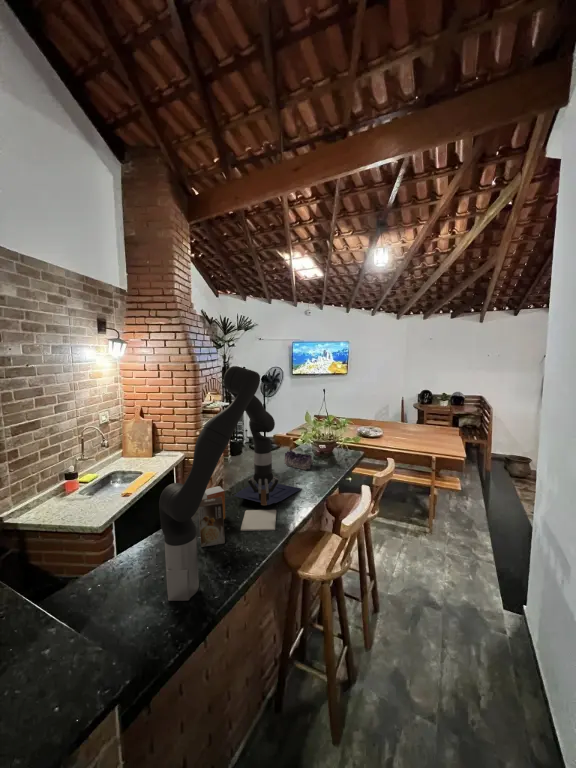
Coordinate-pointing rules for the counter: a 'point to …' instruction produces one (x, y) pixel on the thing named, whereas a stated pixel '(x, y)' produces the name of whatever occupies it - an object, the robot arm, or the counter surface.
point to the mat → (259, 520)
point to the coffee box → (211, 522)
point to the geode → (298, 460)
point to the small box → (216, 495)
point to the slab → (263, 497)
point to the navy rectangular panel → (274, 496)
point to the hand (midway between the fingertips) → (264, 500)
